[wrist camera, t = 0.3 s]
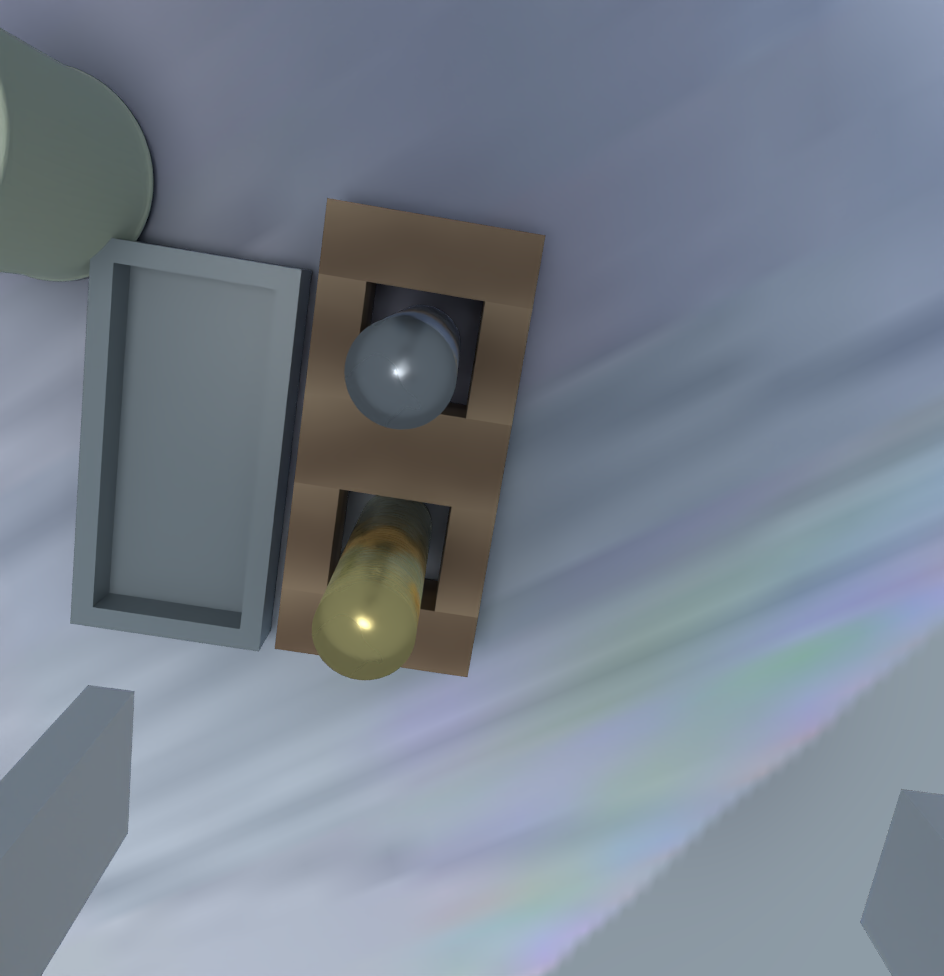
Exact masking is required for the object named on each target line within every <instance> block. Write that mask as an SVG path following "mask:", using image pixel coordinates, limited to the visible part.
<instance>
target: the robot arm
mask: <svg viewBox="0 0 944 976" xmlns="http://www.w3.org/2000/svg"><path fill="white" fill-rule="evenodd" d="M133 712H134V691H129V690H121V689H114V688H106V687H98V686H90V685H88V686H87V687H86V688H85V689H84V690H83V691H82V692H81V694H80V695H79V696H78V697H77V698H76V699H75V700H74V701H73V702H72V703H71V704H70V706H69V707H68V708H67V709H66V710H65V711H64V712H63V713H62V714H61V715H60V716H59V718H58V719H57V720H56V721H55V722H54V723H53V724H52V725H51V726H50V727H49V729H48V730H47V731H46V732H45V733H44V734H43V735H42V736H41V737H40V738H39V739H38V741H37V742H36V743H35V744H34V745H33V746H32V747H31V748H30V749H29V750H28V751H27V753H26V754H25V755H24V756H23V757H22V758H21V759H20V760H19V761H18V762H17V763H16V765H15V766H14V767H13V768H12V769H11V770H10V771H9V772H8V773H7V774H6V775H5V777H4V778H3V779H2V780H1V781H0V976H41V975H42V974H43V972H44V970H45V969H46V967H47V965H48V964H49V962H50V960H51V959H52V957H53V956H54V954H55V952H56V951H57V949H58V947H59V946H60V944H61V942H62V941H63V939H64V937H65V936H66V934H67V932H68V931H69V929H70V928H71V926H72V924H73V923H74V921H75V919H76V918H77V916H78V914H79V913H80V911H81V909H82V908H83V906H84V904H85V903H86V901H87V900H88V898H89V896H90V895H91V893H92V891H93V890H94V888H95V886H96V885H97V883H98V881H99V880H100V878H101V876H102V875H103V873H104V871H105V870H106V868H107V867H108V865H109V863H110V862H111V860H112V858H113V857H114V855H115V853H116V852H117V850H118V848H119V847H120V845H121V843H122V842H123V840H124V839H125V837H126V835H127V834H128V818H129V797H130V776H131V754H132V733H133ZM860 923H861V924H862V926H863V928H864V930H865V931H866V933H867V935H868V936H869V938H870V940H871V941H872V943H873V945H874V946H875V948H876V950H877V951H878V953H879V955H880V957H881V958H882V960H883V962H884V963H885V965H886V967H887V968H888V970H889V972H890V973H891V975H892V976H944V795H943V794H935V793H927V792H919V791H912V790H903V789H901V792H900V795H899V798H898V801H897V805H896V808H895V811H894V814H893V818H892V821H891V824H890V827H889V830H888V834H887V837H886V840H885V843H884V847H883V850H882V853H881V856H880V860H879V863H878V866H877V869H876V873H875V876H874V879H873V882H872V886H871V889H870V892H869V895H868V898H867V902H866V906H865V908H864V911H863V915H862V918H861V921H860Z"/></svg>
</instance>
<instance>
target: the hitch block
mask: <svg viewBox="0 0 944 976" xmlns="http://www.w3.org/2000/svg"><path fill="white" fill-rule="evenodd" d="M544 241H545V235H540V234H534V233H528V232H522V231H516V230H510V229H504V228H499V227H493V226H487V225H481V224H475V223H469V222H464V221H458V220H452V219H446V218H440V217H434V216H429V215H423V214H417V213H411V212H405V211H399V210H393V209H388V208H382V207H376V206H370V205H364V204H358V203H353V202H347V201H341V200H335V199H329V198H327V205H326V214H325V222H324V231H323V240H322V248H321V257H320V265H319V274H318V282H317V291H316V300H315V308H314V317H313V325H312V334H311V342H310V351H309V360H308V368H307V377H306V385H305V394H304V403H303V411H302V420H301V428H300V437H299V445H298V454H297V463H296V471H295V480H294V488H293V497H292V505H291V514H290V523H289V531H288V540H287V548H286V557H285V566H284V574H283V583H282V591H281V600H280V608H279V617H278V626H277V634H276V643H275V649H281V650H288V651H294V652H301V653H308V654H315V655H319V654H318V652H317V650H316V648H315V646H314V643H313V638H312V622H313V618H314V615H315V612H316V610H317V608H318V606H319V603H320V601H321V599H322V597H323V595H324V593H325V590H326V588H327V586H328V584H329V582H330V580H331V577H332V575H333V573H334V571H335V569H336V567H337V564H338V562H339V560H340V554H341V546H342V539H343V531H344V524H345V516H346V508H347V501H348V493H349V491H354V492H361V493H367V494H373V495H380V496H386V497H392V498H399V499H405V500H412V501H418V502H424V503H431V504H437V505H444V506H450V509H449V515H448V521H447V527H446V534H445V540H444V546H443V552H442V558H441V564H440V570H439V577H438V581H435V580H428V579H424V586H423V593H422V599H421V606H420V613H419V620H418V627H417V633H416V640H415V644H414V648H413V650H412V653H411V654H410V656H409V658H408V659H407V661H406V662H405V663H404V664H403V665H402V666H401V667H402V668H409V669H416V670H422V671H429V672H436V673H443V674H449V675H456V676H463V677H468V671H469V665H470V660H471V654H472V648H473V643H474V637H475V631H476V626H477V620H478V614H479V609H480V603H481V597H482V592H483V586H484V580H485V575H486V569H487V563H488V558H489V552H490V546H491V541H492V535H493V529H494V524H495V518H496V512H497V507H498V501H499V495H500V490H501V484H502V478H503V473H504V467H505V461H506V456H507V450H508V444H509V439H510V433H511V427H512V422H513V416H514V410H515V405H516V399H517V393H518V388H519V382H520V376H521V371H522V365H523V359H524V354H525V348H526V343H527V337H528V331H529V326H530V320H531V314H532V309H533V303H534V297H535V292H536V286H537V280H538V275H539V269H540V263H541V258H542V252H543V246H544ZM376 283H379V284H385V285H391V286H397V287H403V288H409V289H415V290H421V291H426V292H432V293H438V294H444V295H450V296H456V297H462V298H468V299H474V300H480V301H483V306H482V312H481V318H480V325H479V331H478V337H477V343H476V349H475V355H474V361H473V368H472V374H471V380H470V386H469V392H468V398H467V404H466V405H463V404H457V403H450V402H449V404H448V405H447V407H446V408H445V409H444V410H443V412H442V413H441V414H440V415H439V416H437V417H436V418H435V419H434V420H432V421H430V422H429V423H427V424H425V425H423V426H420V427H417V428H412V429H403V430H399V429H391V428H387V427H384V426H381V425H378V424H376V423H374V422H373V421H371V420H370V419H368V418H367V417H366V416H364V415H363V414H362V413H361V412H360V411H359V410H358V408H357V407H356V406H355V404H354V403H353V401H352V400H351V398H350V395H349V393H348V390H347V387H346V383H345V374H344V371H345V362H346V357H347V354H348V351H349V349H350V347H351V345H352V343H353V342H354V340H355V339H356V338H357V336H358V335H359V334H360V333H361V332H362V331H363V330H364V329H366V328H367V327H368V326H370V325H371V320H372V312H373V305H374V297H375V290H376Z"/></svg>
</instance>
